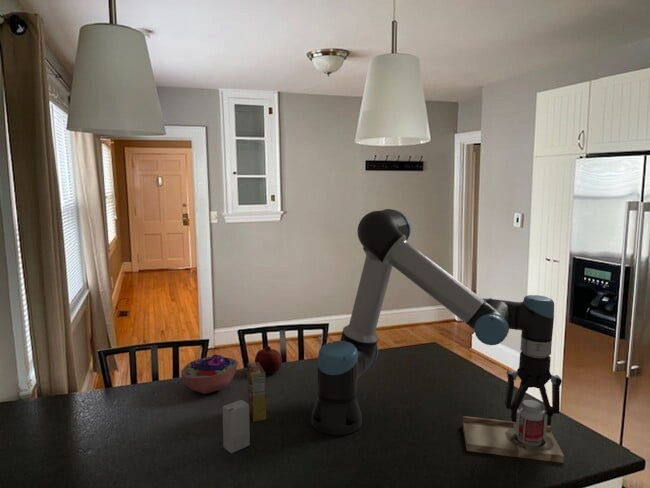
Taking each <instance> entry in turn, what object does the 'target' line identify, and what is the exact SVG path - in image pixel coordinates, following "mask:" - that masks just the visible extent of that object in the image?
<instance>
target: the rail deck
mask: <svg viewBox="0 0 650 488" xmlns="http://www.w3.org/2000/svg"><path fill="white" fill-rule="evenodd" d="M462 430H463V437H464V442H465V447H466V451H467V452H473V453H481V454H490V455H491V454H492V455H496V456H497V455H498V456H504V457H505V456H506V457H513V458H514V457H516V458H522V459H529V460H530V459H531V460H537V461H546V462H553V463H561V464H563V463H564V461H565V460H564V459H565V455H564V453H563V452H562V450H561V447H560V446H559V443H558V442H557V440H556V438H555V436H554V434H553V432H552V426H551V425H550V426H547V430H546V438H543V437H542V443H541V445H540V446H537V447H533V446H526V445H524V444H522V443H521V442H519V440H517V435H516V434H515V432H514V422H512V420H502V419H494V418H484V417H477V416H476V417H475V416H466V415H463V416H462Z"/></svg>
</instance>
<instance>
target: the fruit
mask: <svg viewBox="0 0 650 488" xmlns="http://www.w3.org/2000/svg"><path fill="white" fill-rule="evenodd" d="M254 362H259V363H260V365H261V366H262V368H263V370H264V372H265V374H272V375H273V374H275V373H276V372H278V371H279V370H281V367H282V364H283V358H282V355H281V353H280V352H279V351H278V350H276V349H275V348H272V347H271V346H270V345H269V346H268V345H267V346H266V347H265V348H262V349H260V350H259V351H257V352H256V354H255V359H254Z"/></svg>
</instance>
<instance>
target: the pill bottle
mask: <svg viewBox="0 0 650 488" xmlns="http://www.w3.org/2000/svg"><path fill="white" fill-rule="evenodd" d="M519 411H520V423H519V435H517V438H516V440H517V441H518V442H519V443H521V444H523V445H526V446H533V447H541V446H542V444H541V443H542V430H543V414H542V404H541V403H540V402H538V401H536V400H534V399H524V400H522V402H521V408H520V409H519Z"/></svg>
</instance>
